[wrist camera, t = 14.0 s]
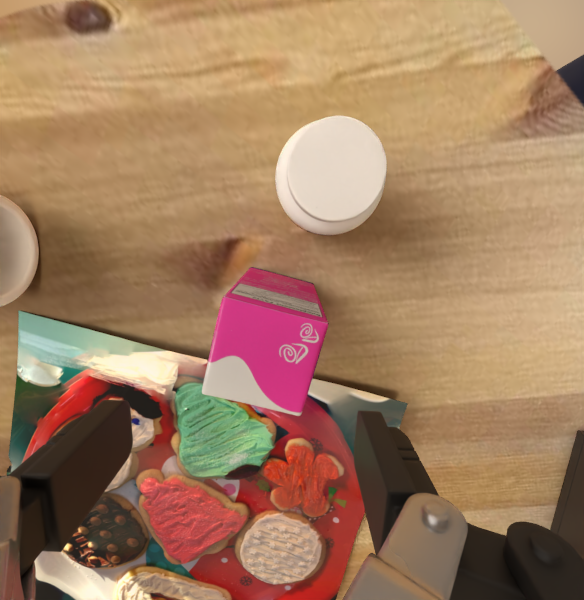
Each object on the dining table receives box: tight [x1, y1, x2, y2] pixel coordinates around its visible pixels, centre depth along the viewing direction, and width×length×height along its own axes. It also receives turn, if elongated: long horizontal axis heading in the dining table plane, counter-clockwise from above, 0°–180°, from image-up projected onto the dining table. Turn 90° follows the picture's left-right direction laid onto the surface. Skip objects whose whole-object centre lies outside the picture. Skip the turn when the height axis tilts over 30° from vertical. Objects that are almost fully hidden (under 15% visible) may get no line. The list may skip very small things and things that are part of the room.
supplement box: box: [202, 267, 329, 416], centre depth 22 cm, size 6×6×12 cm
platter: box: [7, 311, 408, 600], centre depth 32 cm, size 35×35×2 cm
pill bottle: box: [275, 116, 387, 235], centre depth 20 cm, size 6×6×11 cm
